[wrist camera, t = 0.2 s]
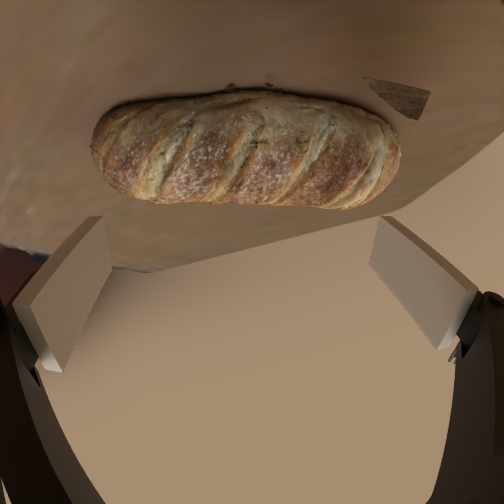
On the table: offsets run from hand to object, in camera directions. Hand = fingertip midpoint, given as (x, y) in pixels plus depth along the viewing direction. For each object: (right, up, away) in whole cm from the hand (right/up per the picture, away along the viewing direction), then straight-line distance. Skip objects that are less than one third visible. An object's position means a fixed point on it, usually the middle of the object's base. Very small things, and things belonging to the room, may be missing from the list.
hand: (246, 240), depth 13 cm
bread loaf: (0, +11, +13) cm, 17 cm away
